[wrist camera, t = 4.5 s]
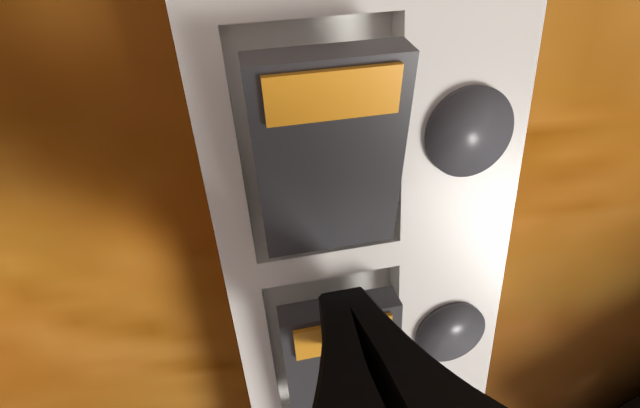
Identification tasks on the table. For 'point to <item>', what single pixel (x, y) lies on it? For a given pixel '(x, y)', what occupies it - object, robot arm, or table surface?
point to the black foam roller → (632, 403)
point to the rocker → (329, 139)
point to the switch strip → (417, 177)
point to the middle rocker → (316, 341)
